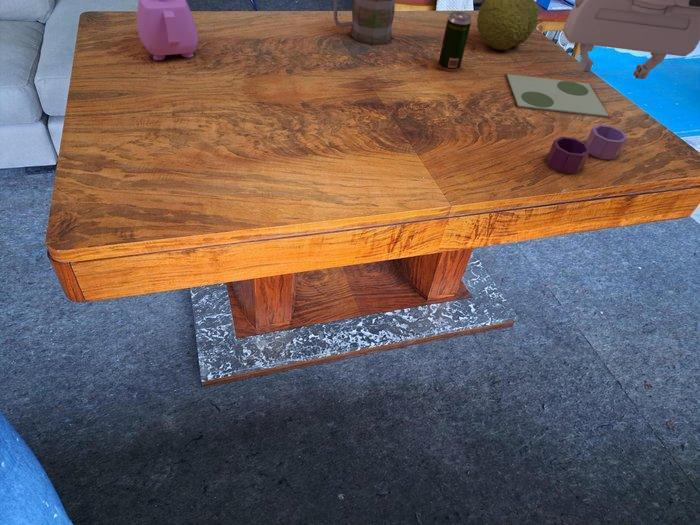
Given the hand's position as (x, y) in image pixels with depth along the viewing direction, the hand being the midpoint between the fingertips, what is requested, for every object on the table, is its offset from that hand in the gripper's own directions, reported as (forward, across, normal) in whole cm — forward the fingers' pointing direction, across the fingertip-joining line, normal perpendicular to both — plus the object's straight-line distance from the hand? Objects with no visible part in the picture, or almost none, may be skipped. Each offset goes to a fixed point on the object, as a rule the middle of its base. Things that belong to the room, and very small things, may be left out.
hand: (611, 74), depth 84 cm
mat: (+18, +4, +29) cm, 34 cm away
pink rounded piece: (+19, -85, +30) cm, 92 cm away
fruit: (+18, -5, +56) cm, 59 cm away
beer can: (+18, -20, +38) cm, 46 cm away
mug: (+18, -42, +52) cm, 69 cm away
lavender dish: (+17, +8, +6) cm, 20 cm away
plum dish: (+17, -1, -1) cm, 17 cm away
